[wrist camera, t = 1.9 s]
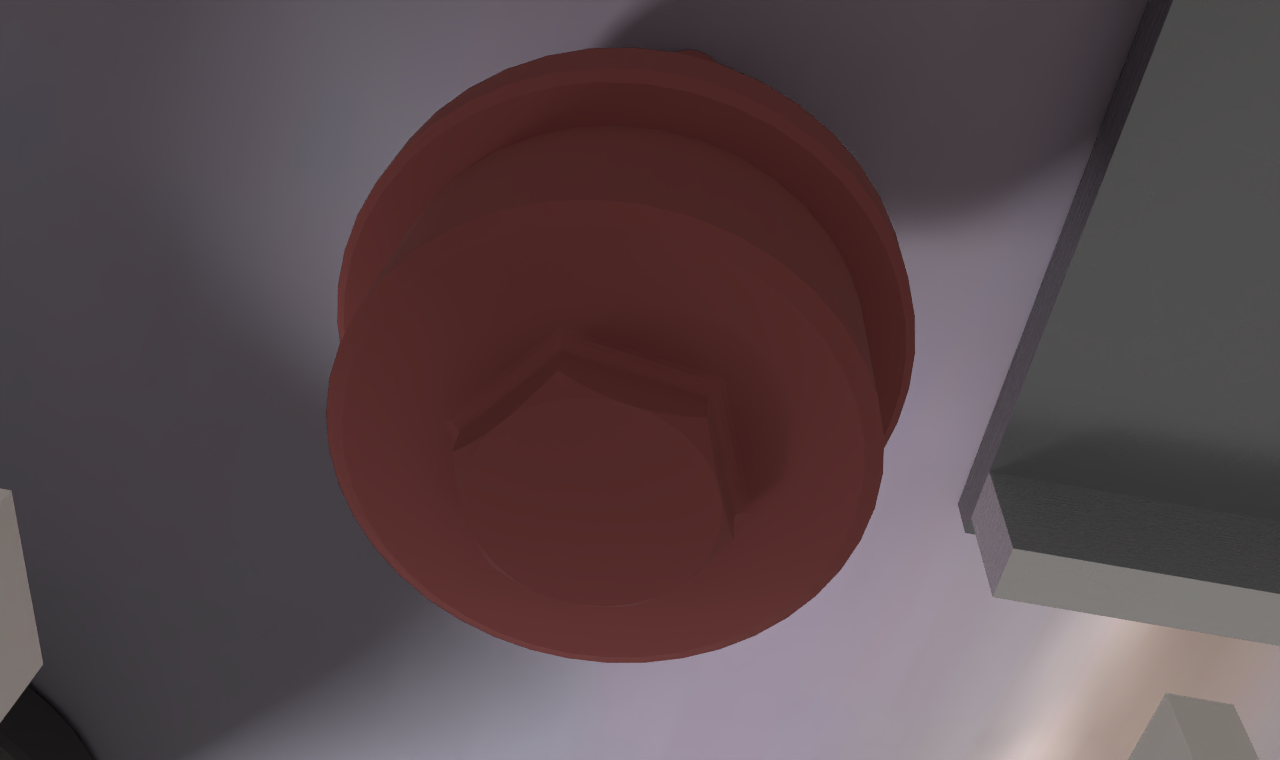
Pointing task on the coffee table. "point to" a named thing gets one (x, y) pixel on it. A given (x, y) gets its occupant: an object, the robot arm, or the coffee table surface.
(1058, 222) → the coffee table surface
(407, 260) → the mechanical component
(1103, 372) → the grey piece
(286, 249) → the coffee table surface
